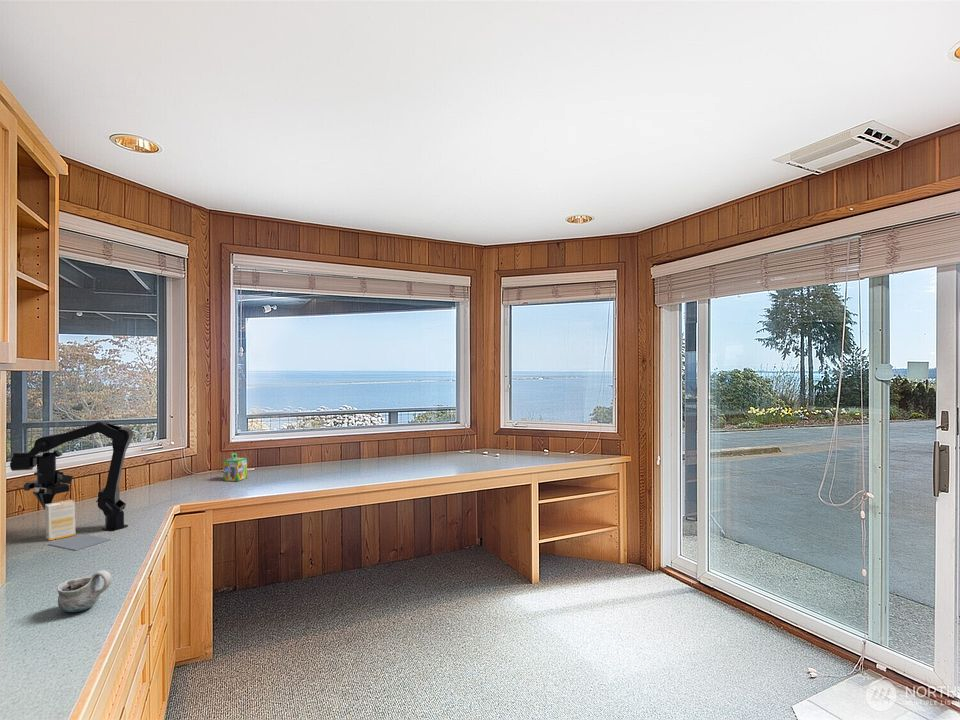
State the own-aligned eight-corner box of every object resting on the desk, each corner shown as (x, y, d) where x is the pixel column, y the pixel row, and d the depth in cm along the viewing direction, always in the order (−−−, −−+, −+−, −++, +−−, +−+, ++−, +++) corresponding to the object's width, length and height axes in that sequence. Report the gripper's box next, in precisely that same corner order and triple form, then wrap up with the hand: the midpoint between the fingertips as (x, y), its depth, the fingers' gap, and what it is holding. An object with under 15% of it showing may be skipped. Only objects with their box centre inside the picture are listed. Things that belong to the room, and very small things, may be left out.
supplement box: (72, 533, 208) (71, 499, 208) (75, 535, 205) (75, 501, 205) (45, 538, 202) (44, 503, 202) (48, 541, 199) (48, 505, 199)
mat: (110, 540, 200) (110, 539, 200) (76, 550, 189) (76, 549, 189) (83, 534, 206) (83, 533, 206) (47, 544, 195) (47, 543, 195)
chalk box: (237, 481, 294) (237, 454, 294) (222, 481, 295) (222, 454, 295) (247, 478, 303) (247, 451, 303) (233, 477, 305) (233, 451, 304)
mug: (68, 603, 148) (67, 566, 148) (119, 598, 152) (119, 562, 152) (49, 619, 139) (49, 580, 139) (105, 613, 142) (104, 575, 142)
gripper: (84, 466, 210) (84, 506, 210) (54, 463, 218) (55, 502, 218) (52, 472, 200) (52, 514, 200) (22, 468, 207) (22, 509, 207)
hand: (46, 509), depth 207 cm, fingers closed
